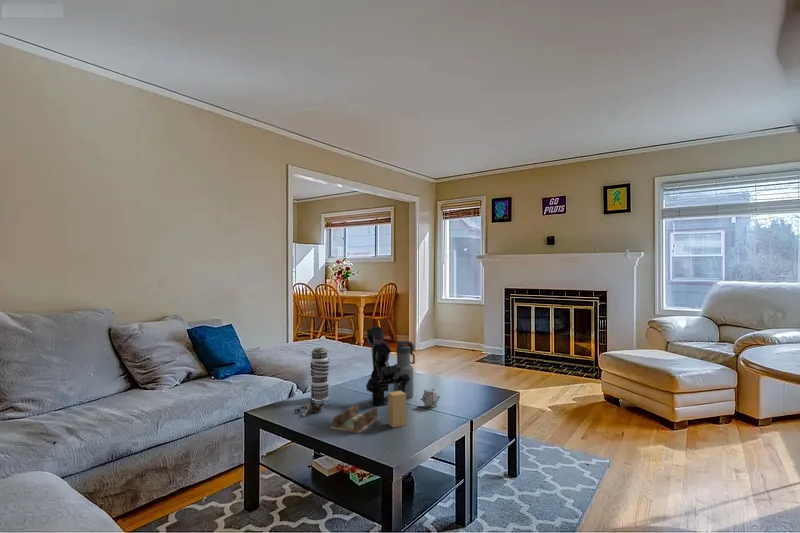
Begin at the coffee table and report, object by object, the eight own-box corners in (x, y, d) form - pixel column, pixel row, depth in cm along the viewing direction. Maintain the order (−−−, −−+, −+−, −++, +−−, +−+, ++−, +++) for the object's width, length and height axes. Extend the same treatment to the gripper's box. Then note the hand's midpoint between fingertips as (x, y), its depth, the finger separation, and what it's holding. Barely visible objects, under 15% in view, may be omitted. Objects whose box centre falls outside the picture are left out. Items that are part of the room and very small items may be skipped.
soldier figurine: (293, 401, 187) (318, 388, 193) (294, 411, 196) (318, 397, 201) (301, 416, 184) (326, 402, 189) (302, 425, 192) (326, 411, 198)
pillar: (387, 423, 180) (387, 392, 180) (400, 421, 183) (400, 390, 183) (393, 427, 176) (392, 395, 176) (406, 425, 178) (405, 393, 178)
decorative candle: (333, 397, 216) (332, 347, 216) (320, 402, 208) (320, 350, 208) (319, 394, 221) (319, 346, 221) (306, 399, 213) (306, 349, 213)
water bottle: (407, 392, 224) (407, 338, 224) (417, 397, 216) (417, 341, 216) (390, 395, 219) (390, 340, 219) (400, 400, 211) (400, 343, 211)
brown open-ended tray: (353, 414, 191) (353, 404, 191) (379, 418, 186) (379, 407, 186) (331, 428, 175) (331, 417, 175) (359, 433, 170) (359, 421, 170)
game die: (433, 415, 200) (438, 402, 194) (416, 408, 201) (421, 394, 196) (438, 401, 207) (443, 388, 201) (422, 394, 209) (426, 381, 203)
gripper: (368, 359, 182) (379, 392, 172) (407, 355, 190) (420, 386, 180) (361, 374, 189) (371, 406, 179) (400, 370, 197) (411, 400, 187)
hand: (394, 399), depth 181 cm, fingers open, 9 cm apart
